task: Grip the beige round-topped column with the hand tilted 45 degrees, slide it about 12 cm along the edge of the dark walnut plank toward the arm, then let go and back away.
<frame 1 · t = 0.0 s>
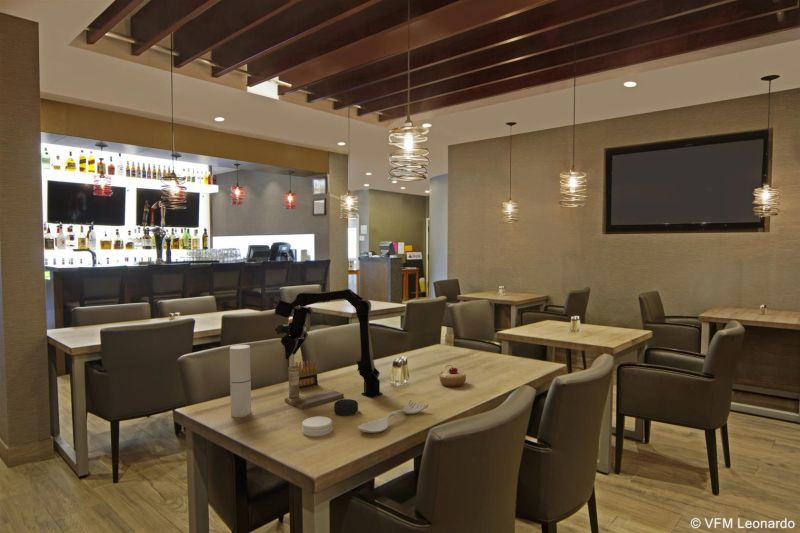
hand: (290, 356, 201), 15 cm above the table, tool pointing down, fingers open, 9 cm apart
walnut plank: (318, 401, 190), on the table
ammunition clip: (305, 387, 210), on the table
coaster: (317, 432, 160), on the table
white spork: (393, 422, 168), on the table
smart speaker: (346, 413, 178), on the table
beige round-topped column: (294, 384, 189), point 7 cm above the table, slide at 0.0 cm
pastry: (452, 384, 213), on the table
cylindrical container: (241, 414, 177), on the table
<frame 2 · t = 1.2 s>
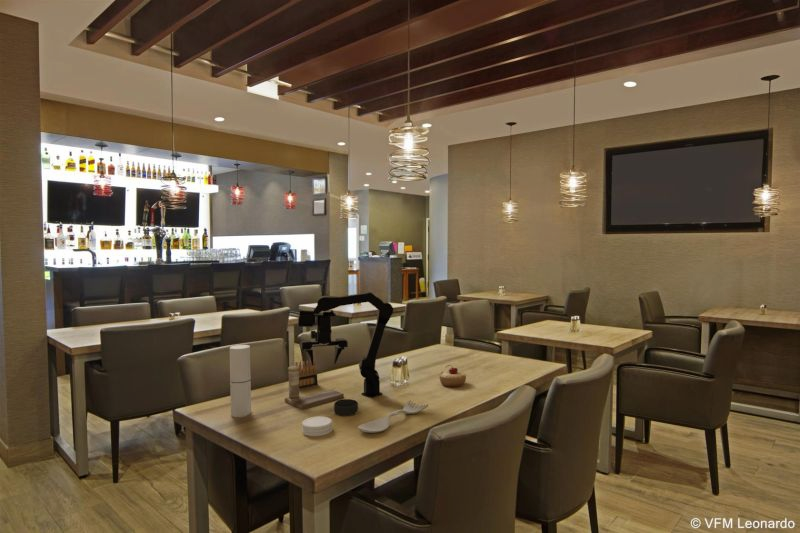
hand: (323, 364, 196), 13 cm above the table, tool pointing down, fingers open, 9 cm apart
nothing on the table moved.
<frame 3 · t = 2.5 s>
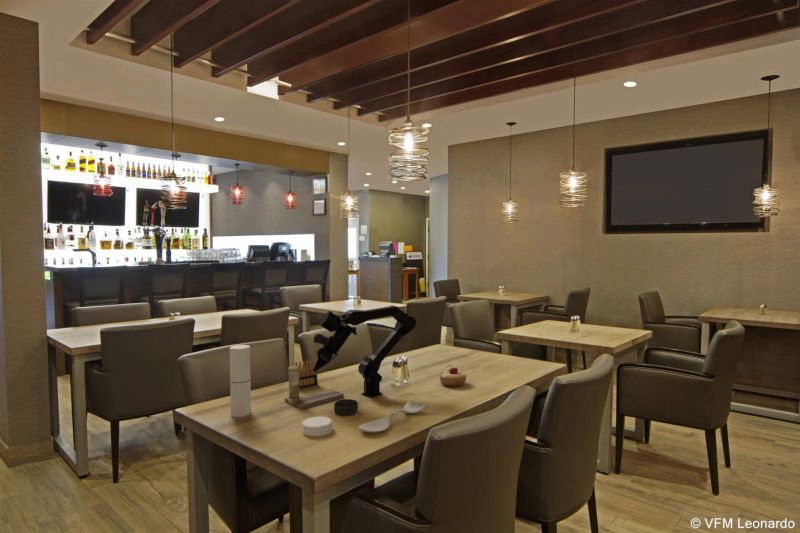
hand: (316, 369, 192), 13 cm above the table, tool tilted 35°, fingers open, 9 cm apart
nothing on the table moved.
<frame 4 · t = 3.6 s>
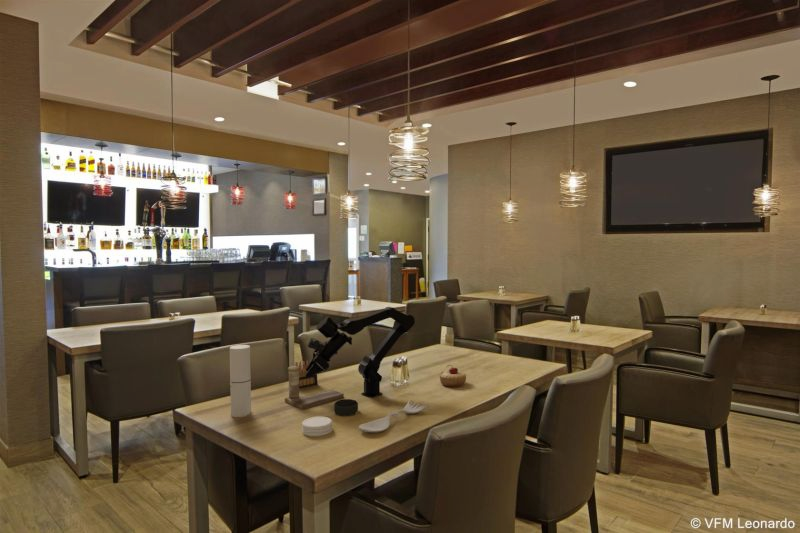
hand: (306, 373, 190), 11 cm above the table, tool tilted 45°, fingers open, 9 cm apart
nothing on the table moved.
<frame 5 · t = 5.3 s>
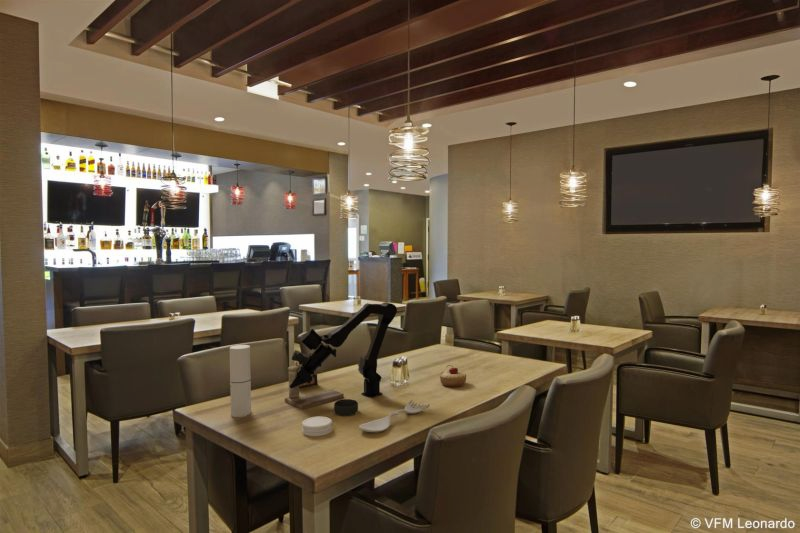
hand: (290, 386, 189), 7 cm above the table, tool tilted 45°, fingers closed on beige round-topped column, 4 cm apart
beige round-topped column: (294, 384, 189), point 7 cm above the table, slide at 0.0 cm, touching gripper
everything else where it was.
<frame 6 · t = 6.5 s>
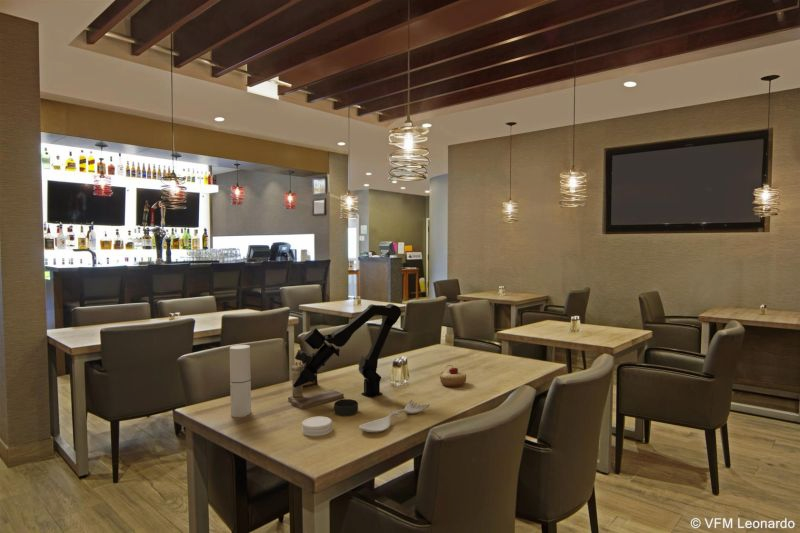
hand: (293, 385, 190), 7 cm above the table, tool tilted 45°, fingers closed on beige round-topped column, 4 cm apart
beige round-topped column: (297, 383, 190), point 7 cm above the table, slide at 1.6 cm, touching gripper
everything else where it was.
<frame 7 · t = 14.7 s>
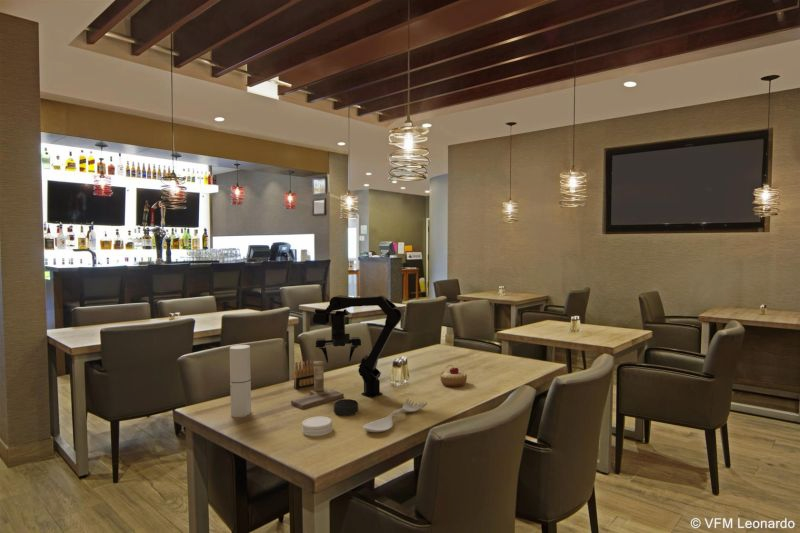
hand: (338, 362, 201), 13 cm above the table, tool pointing down, fingers open, 9 cm apart
beige round-topped column: (318, 378, 198), point 7 cm above the table, slide at 11.9 cm
at the end: beige round-topped column slide at 11.9 cm; the gripper is holding nothing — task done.
